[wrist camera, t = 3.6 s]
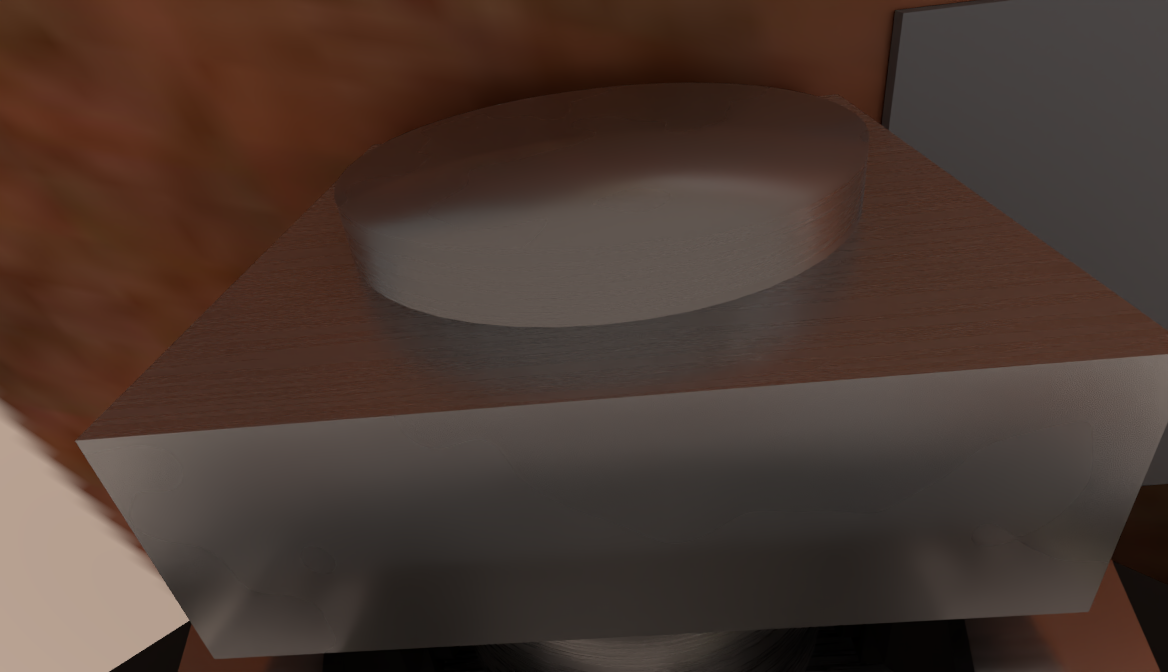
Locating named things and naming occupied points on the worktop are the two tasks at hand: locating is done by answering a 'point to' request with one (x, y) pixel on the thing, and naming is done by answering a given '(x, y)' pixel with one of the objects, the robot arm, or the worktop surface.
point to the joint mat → (1050, 128)
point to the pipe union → (639, 399)
